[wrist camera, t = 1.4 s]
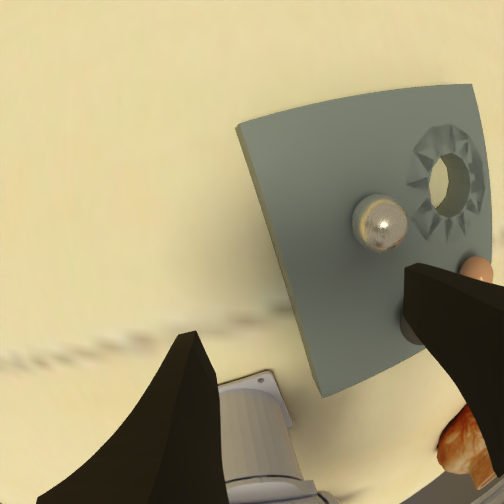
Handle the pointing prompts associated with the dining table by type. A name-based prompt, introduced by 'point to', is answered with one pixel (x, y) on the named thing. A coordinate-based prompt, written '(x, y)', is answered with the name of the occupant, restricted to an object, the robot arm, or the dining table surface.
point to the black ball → (408, 331)
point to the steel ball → (380, 223)
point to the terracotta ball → (477, 269)
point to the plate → (345, 201)
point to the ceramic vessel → (465, 449)
